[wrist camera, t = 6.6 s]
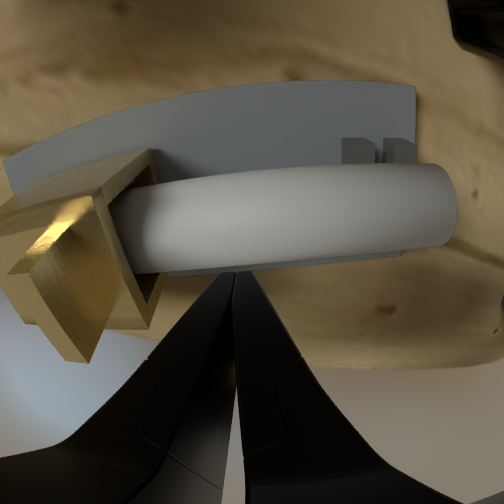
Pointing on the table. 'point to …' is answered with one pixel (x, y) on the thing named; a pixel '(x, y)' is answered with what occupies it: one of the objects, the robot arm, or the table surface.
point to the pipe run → (264, 177)
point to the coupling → (76, 255)
